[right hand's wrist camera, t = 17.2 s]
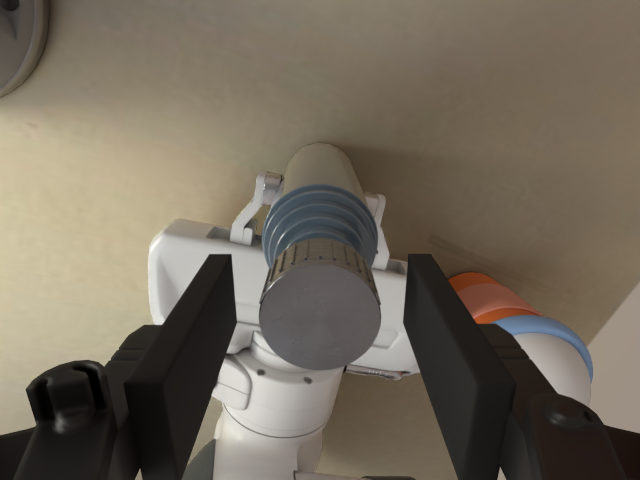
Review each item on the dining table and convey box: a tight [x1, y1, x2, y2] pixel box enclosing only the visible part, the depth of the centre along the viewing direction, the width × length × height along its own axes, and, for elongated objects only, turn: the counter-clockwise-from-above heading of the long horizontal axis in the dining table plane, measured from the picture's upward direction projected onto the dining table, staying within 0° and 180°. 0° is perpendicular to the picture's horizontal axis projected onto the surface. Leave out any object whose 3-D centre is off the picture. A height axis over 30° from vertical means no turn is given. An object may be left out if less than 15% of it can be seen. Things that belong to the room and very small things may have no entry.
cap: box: [259, 238, 381, 370], centre depth 13 cm, size 4×4×2 cm
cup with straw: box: [448, 272, 593, 407], centre depth 28 cm, size 9×9×18 cm
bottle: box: [262, 143, 378, 269], centre depth 23 cm, size 5×5×21 cm
